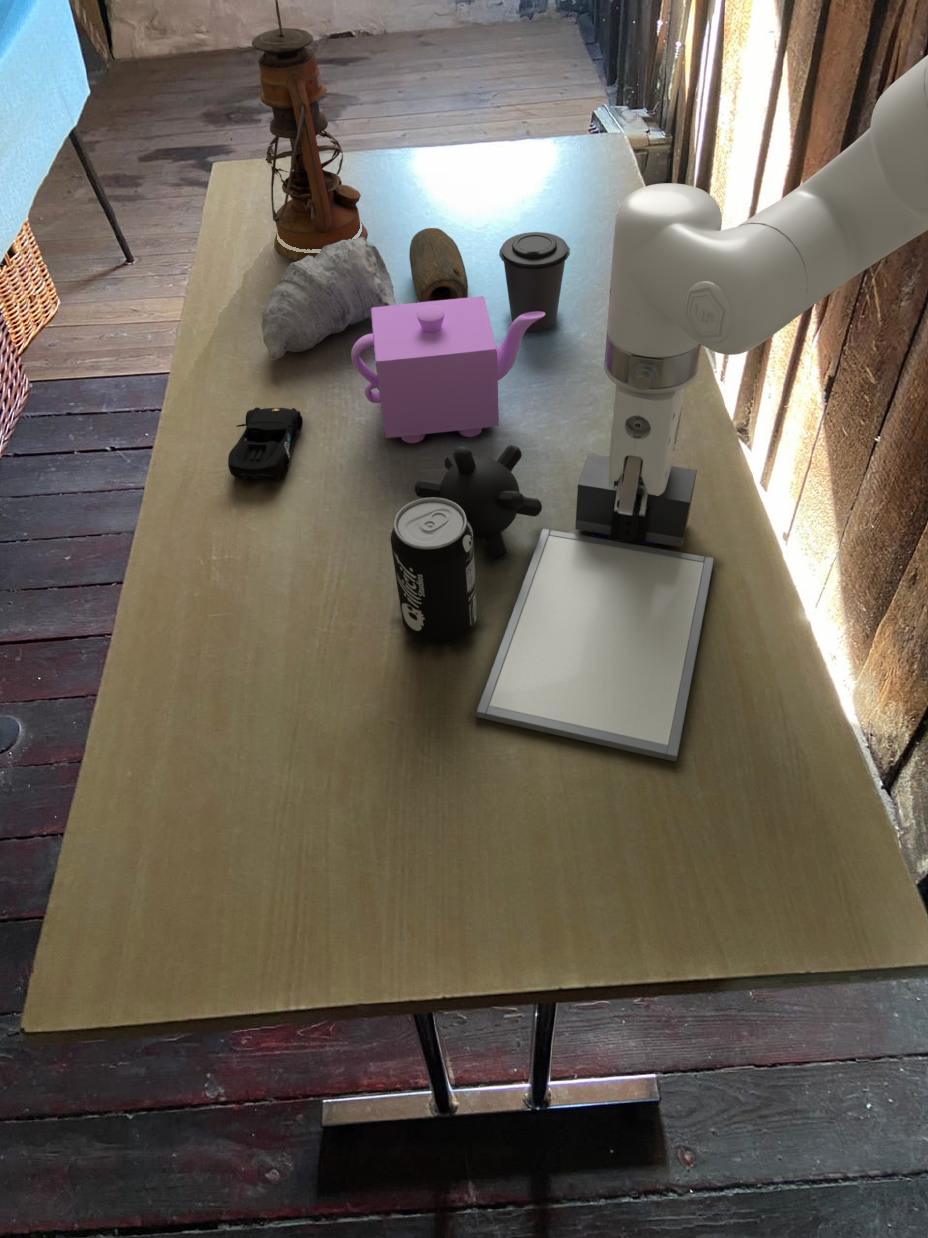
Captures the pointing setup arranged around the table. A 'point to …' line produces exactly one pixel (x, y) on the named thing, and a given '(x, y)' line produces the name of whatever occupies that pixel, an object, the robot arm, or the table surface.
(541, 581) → the whiteboard
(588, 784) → the table surface
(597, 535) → the blue bar
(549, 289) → the coffee cup
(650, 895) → the table surface
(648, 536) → the whiteboard eraser
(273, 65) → the lantern
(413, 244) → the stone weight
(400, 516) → the beverage can
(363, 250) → the seashell
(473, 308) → the teapot
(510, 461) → the toy ball
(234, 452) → the toy car
